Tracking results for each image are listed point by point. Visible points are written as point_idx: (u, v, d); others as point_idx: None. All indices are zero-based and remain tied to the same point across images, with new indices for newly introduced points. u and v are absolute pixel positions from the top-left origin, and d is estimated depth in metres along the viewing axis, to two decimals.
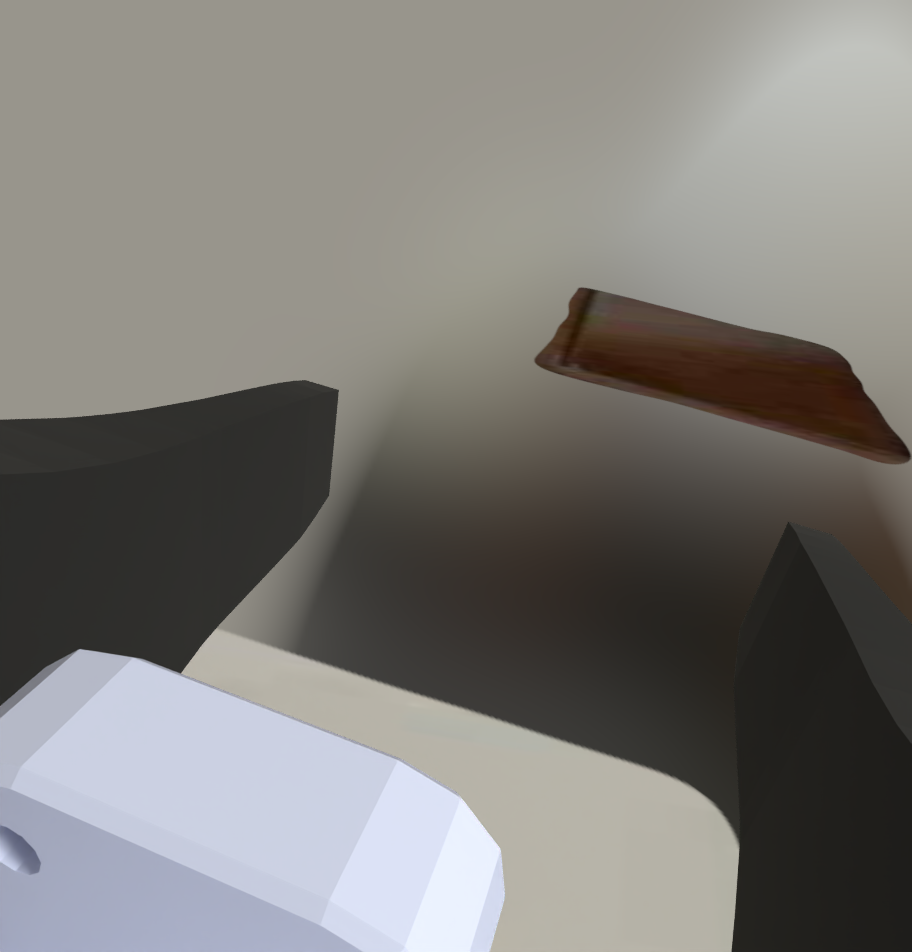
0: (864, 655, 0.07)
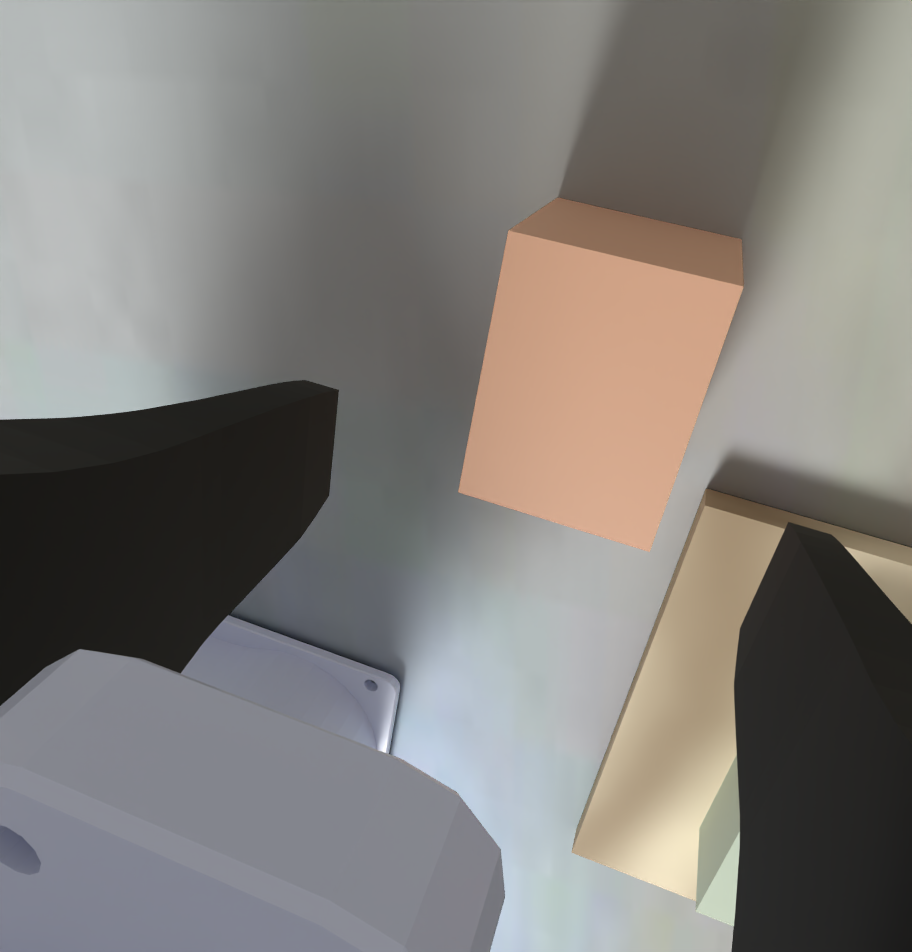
0: (864, 655, 0.07)
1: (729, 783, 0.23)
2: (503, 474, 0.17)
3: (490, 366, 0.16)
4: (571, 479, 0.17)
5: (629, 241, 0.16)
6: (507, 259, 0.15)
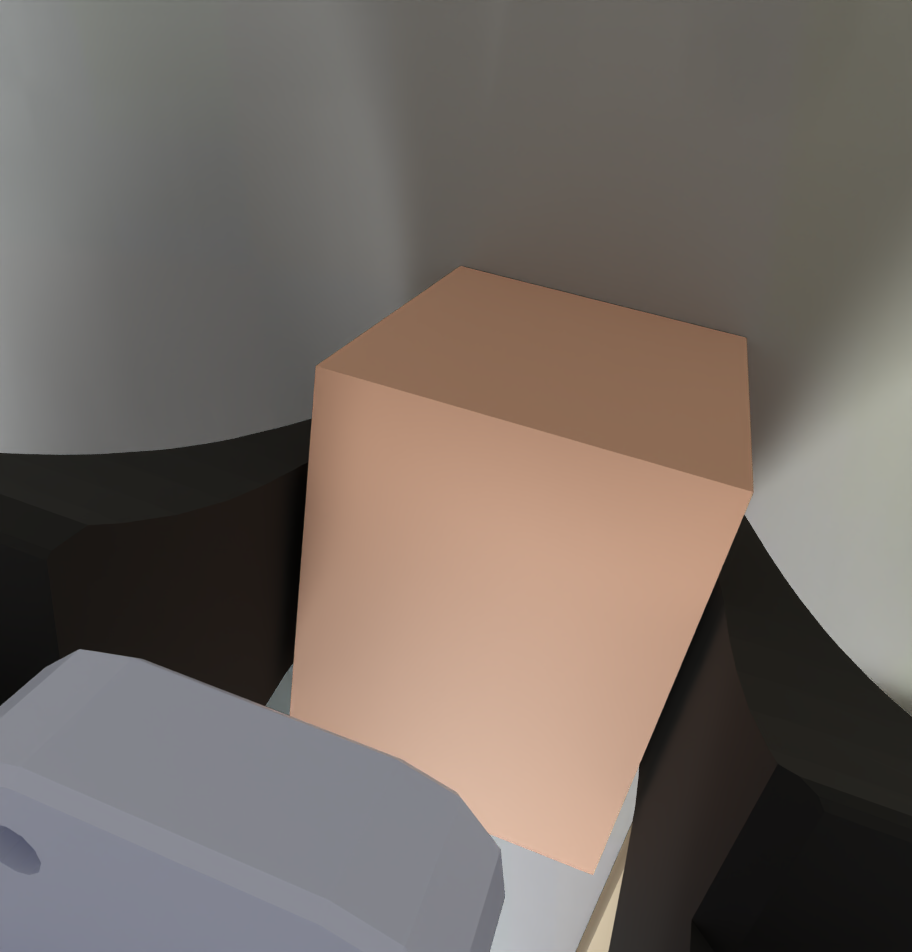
0: (731, 613, 0.08)
1: None
2: (352, 738, 0.10)
3: (312, 581, 0.09)
4: (459, 759, 0.10)
5: (550, 369, 0.09)
6: (319, 415, 0.08)
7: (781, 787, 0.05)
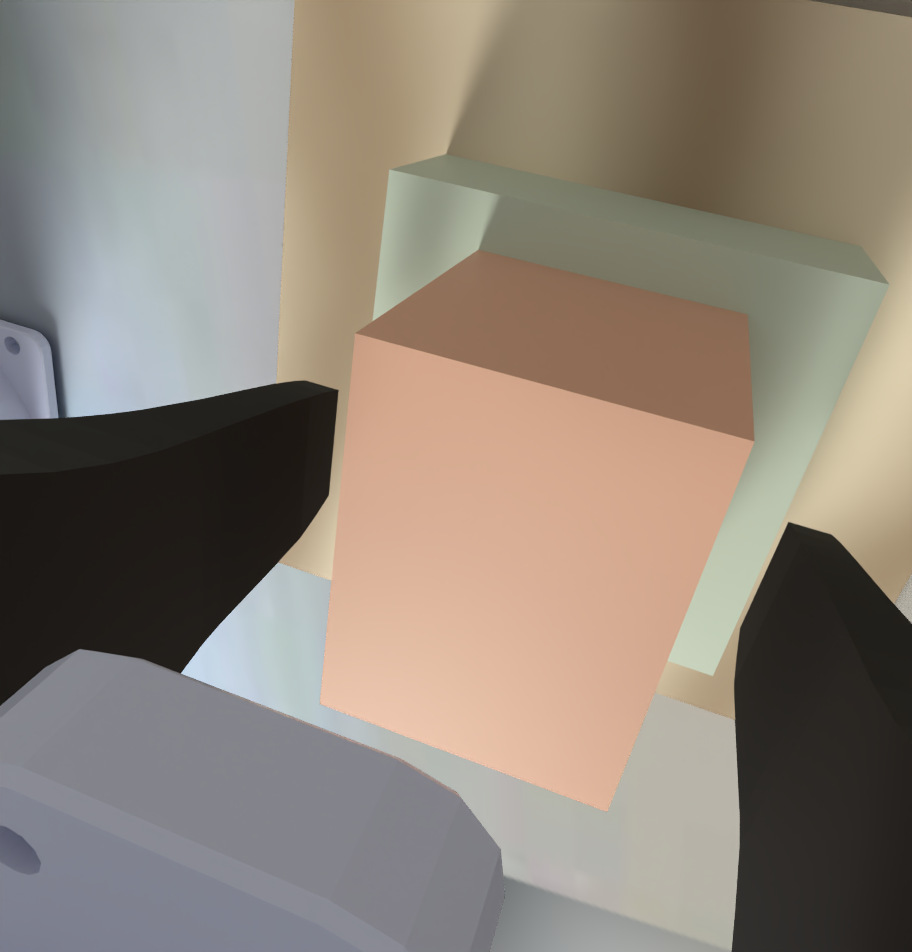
0: (864, 655, 0.07)
1: None
2: (382, 687, 0.11)
3: (348, 536, 0.10)
4: (483, 702, 0.11)
5: (567, 339, 0.10)
6: (358, 378, 0.09)
7: None
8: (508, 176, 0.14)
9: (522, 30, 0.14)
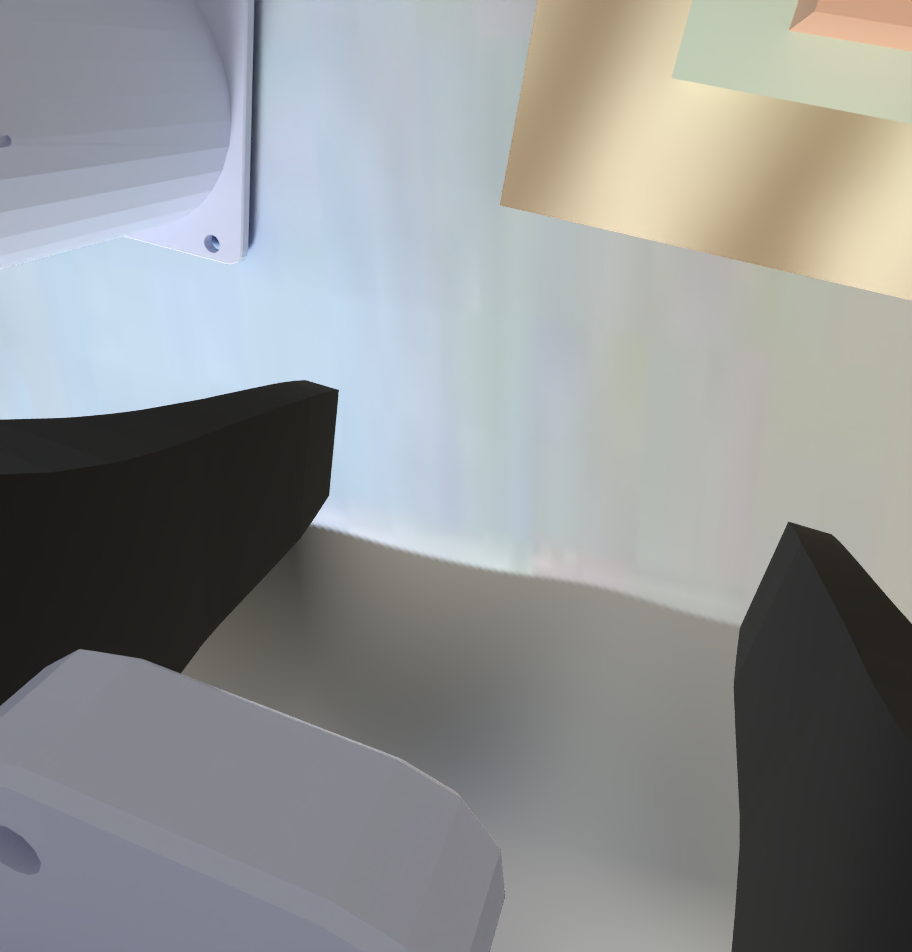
0: (864, 655, 0.07)
1: None
2: None
3: None
4: None
5: None
6: None
7: None
8: None
9: None
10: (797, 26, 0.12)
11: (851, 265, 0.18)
